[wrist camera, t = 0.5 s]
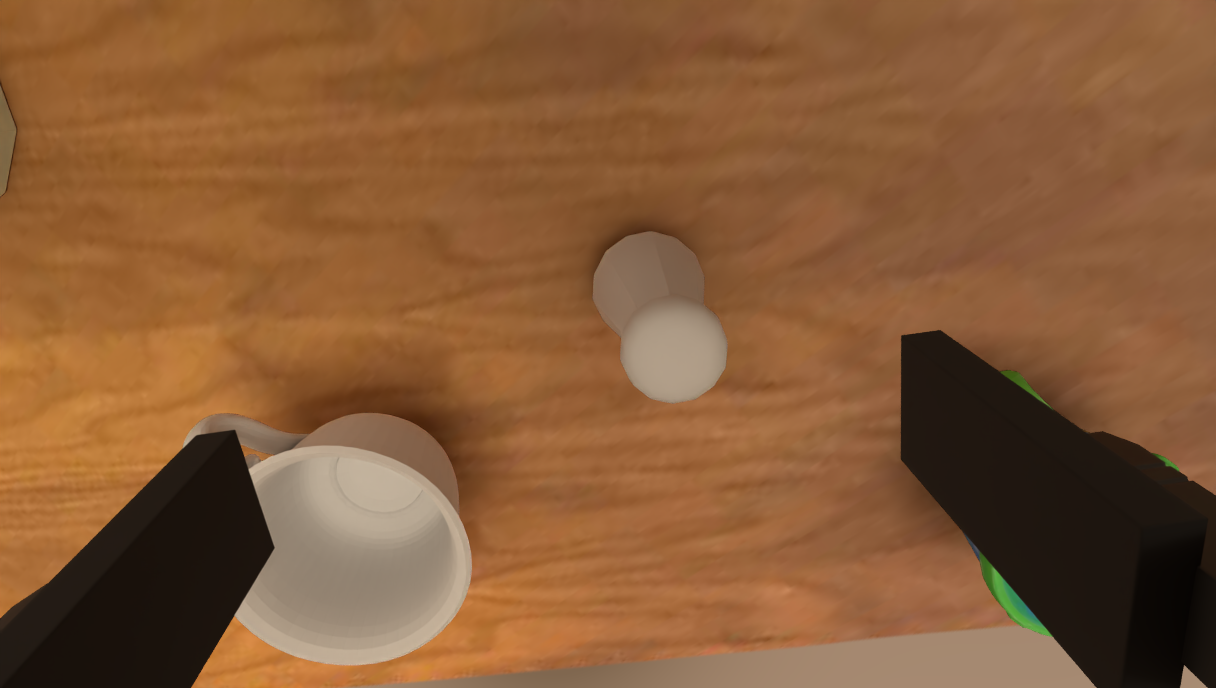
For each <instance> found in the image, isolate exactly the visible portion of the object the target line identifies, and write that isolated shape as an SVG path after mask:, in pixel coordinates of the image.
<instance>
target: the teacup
mask: <svg viewBox="0 0 1216 688" xmlns="http://www.w3.org/2000/svg"><path fill="white" fill-rule="evenodd" d="M229 430H236V433H237V436H238V439H239V442H240V444H241V445H244V446H246V447H249V448H251V449H254V450H256V451H260V452H263V453H266V454H274V456H272V457H269V458H267V459H265V460H263V461H262V462H261V460H260V458H259V457H258V456H257V455H256V454H250V455H247V456H246V457H245V460H246V463H247V466H248V469H249V472H250V475H251V478H252V481H253V484H254V487H255V490H256V493H257V496H258V499H259V502H260V505H261V508H262V511H263V514H264V517H265V520H266V523H267V526H268V529H269V532H270V535H271V538H272V541H273V544H274V547H275V549H274V550H273V552H272V554H271V555H270V557H269V559H268V560H267V562H266V564H265V565H264V567H263V569H262V570H261V572H260V574H259V575H258V577H257V579H256V580H255V582H254V584H253V585H252V587H251V589H250V590H249V592H248V594H247V595H246V597H245V599H244V600H243V602H242V604H241V605H240V607H239V609H238V610H237V612H236V614H235V615H234V616H235V617H236V618H237V619H238V620H239V621H240V622H241V623H242V624H243V625H244V626H245V627H246V628H247V629H248V630H250V631H251V632H252V633H253V634H254V635H256V636H257V637H259V638H260V639H261V640H263V641H264V642H266V643H268V644H269V645H271V646H273V647H275V648H277V649H279V650H281V651H283V652H286V653H288V654H291V655H293V656H296V657H299V658H303V659H306V660H309V661H315V662H320V663H325V664H335V665H364V664H374V663H379V662H384V661H388V660H392V659H395V658H398V657H401V656H403V655H406V654H408V653H410V652H412V651H414V650H416V649H418V648H420V647H421V646H423V645H424V644H426V643H427V642H429V641H431V640H432V639H433V638H434V637H435V636H437V635H438V634H439V633H440V632H441V631H442V630H443V629H444V628H445V627H446V626H447V625H448V624H449V623H450V622H451V621H452V619H453V618H454V616H455V615H456V613H457V612H458V611H459V609H460V607H461V605H462V603H463V601H464V599H465V597H466V594H467V591H468V588H469V585H470V579H471V571H472V561H471V551H470V546H469V540H468V537H467V535H466V532H465V529H464V526H463V524H462V522H461V520H460V518H459V493H458V485H457V479H456V476H455V473H454V470H453V467H452V464H451V462H450V460H449V458H448V456H447V454H446V452H445V451H444V449H443V448H442V446H441V445H440V444H439V443H438V442H437V441H436V440H435V439H434V438H433V437H432V436H431V435H430V434H429V433H428V432H427V431H425V430H424V429H422V428H421V427H419V426H418V425H416V424H414V423H412V422H410V421H408V420H405V419H402V418H400V417H396V416H392V415H388V414H380V413H358V414H352V415H347V416H343V417H341V418H338V419H335V420H333V421H330V422H328V423H326V424H324V425H323V426H321V427H319V428H318V429H316V430H315V431H314V432H312V433H311V434H294V433H288V432H283V431H280V430H277V429H274V428H272V427H270V426H267V425H265V424H263V423H261V422H259V421H256V420H254V419H251V418H248V417H245V416H241V415H237V414H230V413H224V414H215V415H211V416H208V417H206V418H204V419H203V420H201V421H200V422H198V423H197V424H196V425H195V426H194V427H193V428H192V429H191V431H190V432H189V433H188V435H187V437H186V439H185V441H184V444H183V448H184V447H185V446H186V445H187V444H188V443H189V442H190V441H191V440H192V439H193V438H194V437H195V436H196V435H200V434H207V433H214V432H221V431H229ZM183 448H182V449H183Z"/></svg>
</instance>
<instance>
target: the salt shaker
mask: <svg viewBox="0 0 1216 688" xmlns="http://www.w3.org/2000/svg"><path fill="white" fill-rule="evenodd" d="M593 301H594V303H595V305H596V307H597V309H598V311H599V313H600V315H601V317H602V319H603V321H604V322H605V323H606V324H607V325H608V326H609V327H610V328H611V329H612V330H614V331H615V332H616V333H617V334H618V335H619V336H620V337H621V352H620V361H621V363H622V365H623V367H624V369H625V371H626V373H627V375H628V377H629V379H630V381H631V382H632V384H633V385H634V386H635V387H636V388H638V389H639V390H640V391H641V392H643V393H644V394H645V395H646V396H648V397H649V398H650V399H653V400H658V401H663V402H668V403H672V404H673V403H678V402H684V401H689V400H694V399H696V398H698V397H699V396H701V395H702V394H704V393H705V392H706V391H708V390H709V389H711V388H712V387H713V386H714V385H715V384H716V382H717V380H718V379H719V377H720V376H721V374H722V372H723V371H724V369H725V368H726V358H727V338H726V336H725V333H724V331H723V328H722V326H721V323H720V320H719V318H718V317H717V316H716V314H715V313H713V312H712V311H711V310H710V309H709V308H707V307H706V306H705V305H704V274H703V272H702V270H701V267H700V265H699V262H698V260H697V257H696V255H695V254H694V253H693V252H692V251H691V250H690V249H689V248H687V247H686V246H685V245H684V244H683V243H682V242H680V241H679V240H678V239H677V238H675V237H672V236H668V235H664V234H660V233H656V232H652V231H648V232H643V233H639V234H634V235H629V236H626V237H624V238H623V239H622V240H620V241H619V242H618V243H616V244H615V245H613V246H612V247H611V248H609V249H608V250H607V251H606V252H605V254H604V256H603V258H602V260H601V262H600V264H599V266H598V268H597V270H596V272H595V274H594V283H593Z"/></svg>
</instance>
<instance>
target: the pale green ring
mask: <svg viewBox="0 0 1216 688" xmlns="http://www.w3.org/2000/svg"><path fill="white" fill-rule="evenodd" d="M16 130H17V129H16V126H15V124H14V121H13V118H12V115H11V113H10V110H9V107H8V105H7V102H6V99H5V96H4V94H3V91H2V88H1V86H0V197H1V196H2V195H3V194H4V193H5V191H6V187H7V182H8V176H9V170H10V165H11V159H12V154H13V148H14V143H15V137H16Z"/></svg>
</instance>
